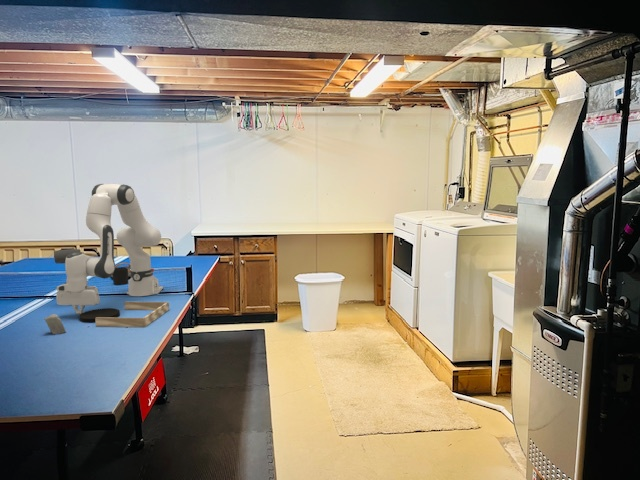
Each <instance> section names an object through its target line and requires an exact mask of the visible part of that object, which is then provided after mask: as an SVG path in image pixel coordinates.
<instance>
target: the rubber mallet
mask: <svg viewBox="0 0 640 480" xmlns="http://www.w3.org/2000/svg"><path fill="white" fill-rule="evenodd" d="M75 252H82V251H81V249H79V248H75V249H74V248H71V249H70V248H69V249H67V248H66V249H61V250H60V249H58V250H55V251H54V253H53V254H54V256H53V257H54V263H55V264H65V260H66V257H67V255H69V254H71V253H75ZM65 283H67V282H65Z"/></svg>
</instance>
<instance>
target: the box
mask: <svg viewBox="0 0 640 480" xmlns="http://www.w3.org/2000/svg"><path fill="white" fill-rule="evenodd" d="M124 310H127V311H151V312H150V313H148V314H147V315H145V316H144V317H118V318H115V317H96V318H95V322H96V323H95V327H105V328H106V327H107V328H108V327H110V328H111V327H112V328H113V327H115V328H116V327H117V328H122V327H123V328H146V327H147V326H148V325H150V324H151V323H153V322H154V321H155V320H157V319H158V318H159V317H161V316H162V315H164V314H165V313H166V312H168V311H169V310H170V302H169V301H124Z"/></svg>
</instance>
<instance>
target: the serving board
mask: <svg viewBox="0 0 640 480" xmlns="http://www.w3.org/2000/svg"><path fill="white" fill-rule="evenodd" d="M124 265H125V266H124ZM120 266H124V267H125V268H127V269H128V278H129V277H130V271H131V270H130V269H131V266H130V262H129V263H128V262H120V263H117V264H115V268H119V267H120ZM110 277H111V278H113V275H111V276H110ZM130 278H131V277H130Z"/></svg>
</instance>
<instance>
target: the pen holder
mask: <svg viewBox="0 0 640 480" xmlns="http://www.w3.org/2000/svg"><path fill="white" fill-rule="evenodd" d="M118 267H119V268H115V271H114V273H113V274H112V275H113V277H112V282H113V285H115V286H125V285H127V284H128V285H129V277H128V269H127V268H125V266H118Z"/></svg>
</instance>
